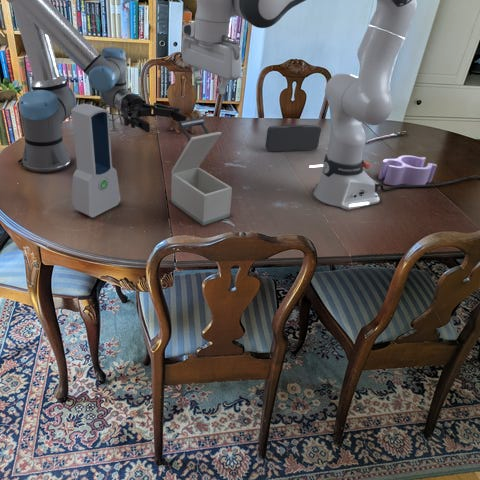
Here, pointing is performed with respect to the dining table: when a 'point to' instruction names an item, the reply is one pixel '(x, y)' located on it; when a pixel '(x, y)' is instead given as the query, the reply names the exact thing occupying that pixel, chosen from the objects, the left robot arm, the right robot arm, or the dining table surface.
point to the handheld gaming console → (292, 137)
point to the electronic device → (93, 162)
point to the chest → (201, 195)
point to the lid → (195, 146)
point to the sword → (384, 137)
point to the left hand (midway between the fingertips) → (167, 124)
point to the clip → (406, 171)
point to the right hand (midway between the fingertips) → (209, 88)
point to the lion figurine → (193, 115)
